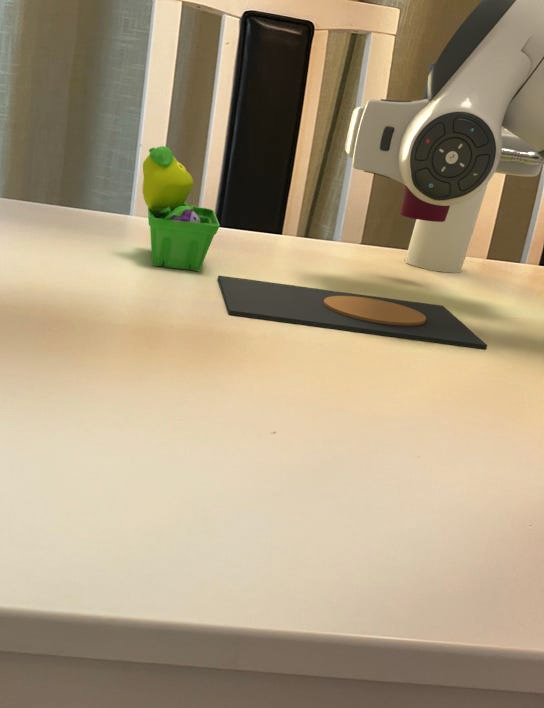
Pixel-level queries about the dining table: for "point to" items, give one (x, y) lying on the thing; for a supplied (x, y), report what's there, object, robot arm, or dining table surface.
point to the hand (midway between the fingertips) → (443, 139)
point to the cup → (417, 207)
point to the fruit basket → (175, 214)
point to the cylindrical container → (445, 237)
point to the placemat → (345, 311)
